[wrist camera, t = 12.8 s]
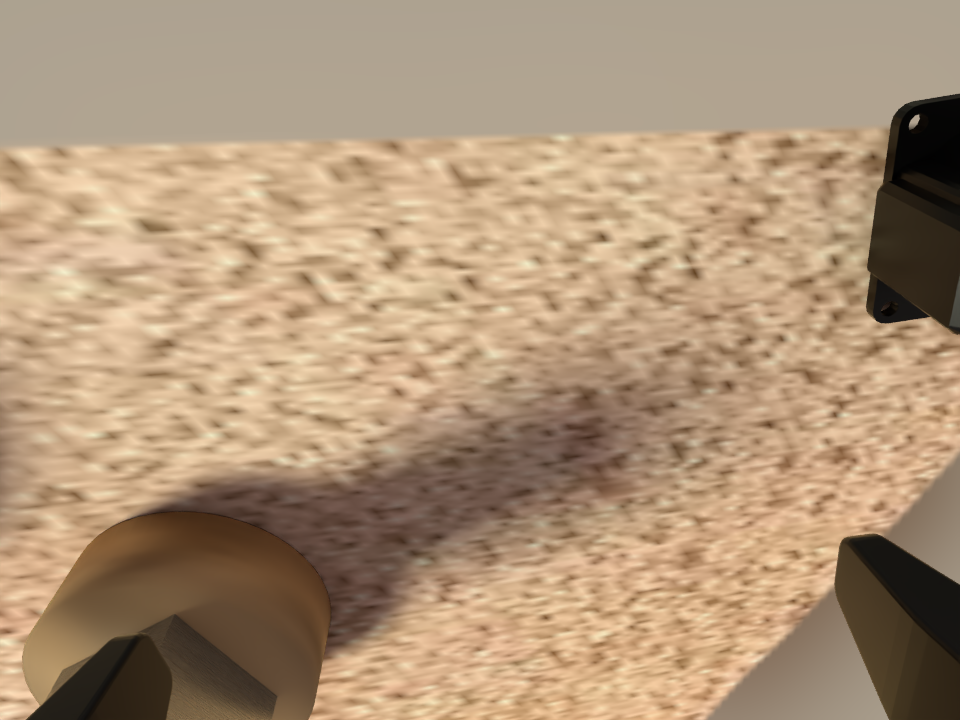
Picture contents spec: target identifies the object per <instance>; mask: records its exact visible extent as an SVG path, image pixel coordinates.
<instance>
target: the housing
mask: <svg viewBox="0 0 960 720" xmlns="http://www.w3.org/2000/svg"><path fill="white" fill-rule="evenodd" d="M137 633H146V634H148V635H149V636H150V637H151V638H152V639H153V641H154V643H155V644H156V646H157V648H158V649H159V651H160V653H161V654H162V656H163V658H164V659H165V661H166V663H167V664H168V666H169V668H170V670H171V673H172V678H173V687H172V694H171V699H170V704H169V709H168V714H167V719H166V720H272V717H273V713H274V709H275V705H276V701H277V697H278V696H277V695H275V694H274V693H273V692H272V691H270V690H269V689H268V688H267V687H265V686H264V685H263V684H262V683H260V682H259V681H258V680H257V679H255V678H254V677H253V676H252V675H250V674H249V673H248V672H247V671H245V670H244V669H243V668H242V667H240V666H239V665H238V664H237V663H235V662H234V661H233V660H232V659H230V658H229V657H228V656H227V655H225V654H224V653H223V652H222V651H221V650H219V649H218V648H217V647H216V646H214V645H213V644H212V643H211V642H209V641H208V640H207V639H206V638H204V637H203V636H202V635H201V634H199V633H198V632H197V631H196V630H194V629H193V628H192V627H191V626H189V625H188V624H187V623H186V622H184V621H183V620H182V619H181V618H179V617H178V616H177V615H176V614H173V615H171V616H169V617H167V618H165V619H163V620H161V621H159V622H157V623H155V624H153V625H151V626H149V627H147V628H145V629H143V630H141V631H139V632H137ZM93 655H94V654H93ZM93 655H91V656H89V657H87V658H85V659H83V660H81V661H79V662H77V663H75V664H73V665H71V666H69V667H67V668H65V669H63V670H62V672H61V673H60V675H59V677H58V679H57V680H56V682H55V684H54V686H53V687H52V689H51V691H50V693H49V694H48V696H47V698H46V700H47V699H48V698H49V697H50V696H51V695H52V694H53V693H54V692H55V691H57V690H58V689H59V688H60V687H61V686H62V685H63V684H64V683H65V682H66V681H67V680H68V679H69V678H70V677H71V676H72V675H73V674H74V673H75V672H76V671H77V670H79V669H80V668H81V667H82V666H83V665H84V664H85V663H86V662H87V661H88V660H89V659H90V658H91V657H92V656H93ZM46 700H45V701H46Z"/></svg>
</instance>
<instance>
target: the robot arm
mask: <svg viewBox="0 0 960 720" xmlns="http://www.w3.org/2000/svg"><path fill="white" fill-rule="evenodd" d="M918 114H919V117H920V120H919V122H918V125H917V126H916V127H915V128H914V129H911V130H909V123H910V121H911V119H912V118H913V117H914V116H915V115H918ZM867 269H868V271H869V272H871V274H870V282H869V289H868V296H867V304H866V309H867V312H868V314H869V315H870V316H871V317H872V318H873V319H875V320H876V321H878V322H880V323H893V322H900V321H907V320H913V319H920V318H927V317H931V318H933V319H934V320H935V321H937V322H938V323H940V324H941V325H942V326H944V327H945V328H946V329H948V330H949V331H950V332H952V333H954V334H957V335H958V334H960V94H955V95H949V96H943V97H937V98H931V99H925V100H919V101H913V102H910V103H908V104H905V105H904V106H902V107H901V108H900V109H899V110H898V111H897V112H896V114H895V115H894V116H893V120H892V123H891V128H890V135H889V143H888V150H887V157H886V165H885V172H884V179H883V184H882V185H881V187H880V188H879V190H878V192H877V198H876V205H875V213H874V220H873V228H872V235H871V243H870V250H869V258H868V265H867ZM890 301H891V304H890V306H889V307H888V308H887V309H885V310H882V311H881V309H882V307H883V306H884V305H885V304H886V303H888V302H890ZM835 592H836V596H837V600H838V602H839V605H840V607H841V609H842V612H843V614H844V617H845V619H846V621H847V624H848V626H849V628H850V631H851V633H852V635H853V637H854V640H855V642H856V644H857V647H858V649H859V652H860V654H861V656H862V659H863V661H864V663H865V666H866V668H867V670H868V673H869V675H870V677H871V680H872V682H873V684H874V687H875V689H876V691H877V694H878V696H879V698H880V701H881V703H882V705H883V707H884V709H885V712H886V714H887V716H888V718H889V720H960V585H959V584H958V583H956V582H955V581H953V580H951V579H950V578H948V577H947V576H945V575H944V574H942V573H940V572H938V571H937V570H935V569H934V568H932V567H931V566H929V565H928V564H926V563H924V562H923V561H921V560H920V559H918V558H916V557H915V556H913V555H912V554H910V553H908V552H907V551H905V550H904V549H902V548H900V547H899V546H897V545H896V544H894V543H892V542H891V541H889V540H888V539H886V538H884V537H883V536H880V535H878V534H865V535H857V536H850V537H846V538H844V539H843V540H842V541H841V543H840V547H839V553H838V561H837V568H836V575H835ZM172 687H173V678H172V673H171V670H170V668H169V666H168V664H167V663H166V661H165V659H164V658H163V656H162V654H161V653H160V651H159V649H158V648H157V646H156V644H155V643H154V641H153V639H152V638H151V637H150V636H149V635H148V634H146V633H133V634H126V635H119V636H116V637H114V638H112V639H110V640H109V641H108V642H107V643H106V644H105V645H104V646H103V647H102V648H101V649H99V650H98V651H97V652H96V653H95V654H94V655H93V656H92V657H91V658H90V659H89V660H88V661H87V662H86V663H85V664H84V665H83V666H82V667H81V668H80V669H79V670H77V671H76V672H75V673H74V674H73V675H72V676H71V677H70V678H69V679H68V680H67V681H66V682H65V683H64V684H63V685H62V686H61V687H60V688H59V689H58V690H57V691H55V692H54V693H53V694H52V695H51V696H50V697H49V698H48V699H47V700H46V701H45V702H44V703H43V704H42V705H41V706H40V707H39V708H38V709H37V710H36V711H35V712H34V713H32V714H31V715H30V716H29V717H28V718H27V719H26V720H166V719H167V714H168V709H169V704H170V699H171V694H172Z"/></svg>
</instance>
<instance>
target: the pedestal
mask: <svg viewBox="0 0 960 720" xmlns="http://www.w3.org/2000/svg"><path fill="white" fill-rule="evenodd" d="M173 614H176V615H177V616H178V617H179V618H181V619H182V620H183V621H184V622H186V623H187V624H188V625H189V626H191V627H192V628H193V629H194V630H196V631H197V632H198V633H199V634H201V635H202V636H203V637H204V638H206V639H207V640H208V641H209V642H211V643H212V644H213V645H214V646H216V647H217V648H218V649H219V650H221V651H222V652H223V653H224V654H225V655H227V656H228V657H229V658H230V659H232V660H233V661H234V662H235V663H237V664H238V665H239V666H240V667H242V668H243V669H244V670H245V671H247V672H248V673H249V674H250V675H252V676H253V677H254V678H255V679H257V680H258V681H259V682H260V683H262V684H263V685H264V686H265V687H267V688H268V689H269V690H270V691H272V692H273V693H274V694H275V695H277V696H278V697H277V701H276V705H275V709H274V713H273V717H272V720H308V719H309V717H310V715H311V713H312V710H313V706H314V703H315V698H316V693H317V688H318V683H319V677H320V672H321V667H322V662H323V657H324V652H325V647H326V642H327V637H328V632H329V627H330V619H331V607H330V600H329V596H328V593H327V590H326V588H325V586H324V584H323V582H322V580H321V578H320V576H319V575H318V574H317V572H316V571H315V569H314V568H313V567H312V566H311V564H310V563H309V562H308V561H307V560H306V559H305V558H304V557H303V556H302V555H301V554H300V553H298V552H297V551H296V550H295V549H294V548H292V547H291V546H290V545H288V544H287V543H285V542H284V541H282V540H281V539H279V538H278V537H276V536H274V535H272V534H270V533H268V532H266V531H264V530H262V529H260V528H257V527H255V526H253V525H250V524H248V523H245V522H241V521H238V520H235V519H231V518H228V517H223V516H218V515H213V514H206V513H197V512H165V513H155V514H150V515H145V516H140V517H136V518H133V519H130V520H127V521H124V522H122V523H120V524H117V525H115V526H113V527H111V528H109V529H108V530H106V531H105V532H103V533H102V534H100V535H99V536H97V537H96V538H95V539H94V540H93V541H92V542H91V543H90V544H89V545H88V546H87V547H86V549H85V550H84V551H83V553H82V554H81V555H80V557H79V558H78V560H77V562H76V563H75V565H74V566H73V568H72V569H71V571H70V572H69V574H68V575H67V577H66V579H65V580H64V582H63V583H62V585H61V586H60V588H59V589H58V591H57V592H56V594H55V596H54V597H53V599H52V600H51V602H50V603H49V605H48V606H47V608H46V609H45V611H44V613H43V614H42V616H41V617H40V619H39V620H38V622H37V623H36V625H35V626H34V628H33V630H32V631H31V633H30V634H29V637H28V639H27V641H26V643H25V646H24V651H23V656H22V662H23V672H24V676H25V680H26V683H27V685H28V687H29V689H30V691H31V693H32V695H33V696H34V698H35V699H36V701H37V702H38V703H39V705H40V706H41V705H42V704H43V703H44V702H45V700H46V698H47V696H48V694H49V693H50V691H51V689H52V687H53V686H54V684H55V682H56V680H57V679H58V677H59V675H60V673H61V672H62V670H63V669H65V668H67V667H69V666H71V665H73V664H75V663H77V662H79V661H81V660H83V659H85V658H87V657H89V656H91V655H93V654H95V653H96V652H97V651H98V650H99V649H101V648H102V647H103V646H104V645H105V644H106V643H107V642H108V641H109V640H110V639H112V638H114V637H116V636H119V635H126V634H133V633H137V632H139V631H141V630H143V629H145V628H147V627H149V626H151V625H153V624H155V623H157V622H159V621H161V620H163V619H165V618H167V617H169V616H171V615H173Z"/></svg>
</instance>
